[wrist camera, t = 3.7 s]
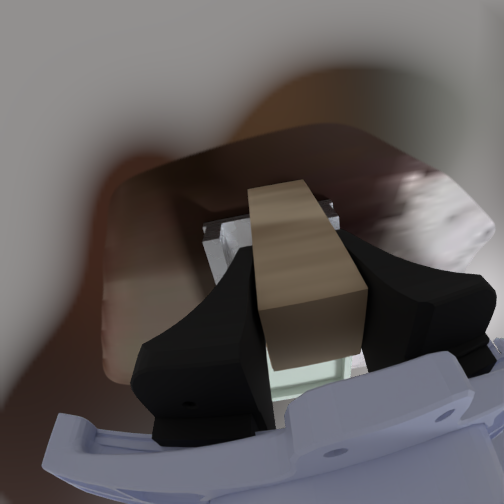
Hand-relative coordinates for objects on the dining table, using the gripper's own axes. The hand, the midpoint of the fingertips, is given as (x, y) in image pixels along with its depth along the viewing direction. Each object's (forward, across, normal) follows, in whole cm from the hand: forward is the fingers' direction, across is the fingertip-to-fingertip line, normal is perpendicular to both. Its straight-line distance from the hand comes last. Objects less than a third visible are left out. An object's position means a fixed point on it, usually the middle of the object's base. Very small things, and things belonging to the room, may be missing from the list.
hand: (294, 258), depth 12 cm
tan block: (+5, 0, +1) cm, 5 cm away
